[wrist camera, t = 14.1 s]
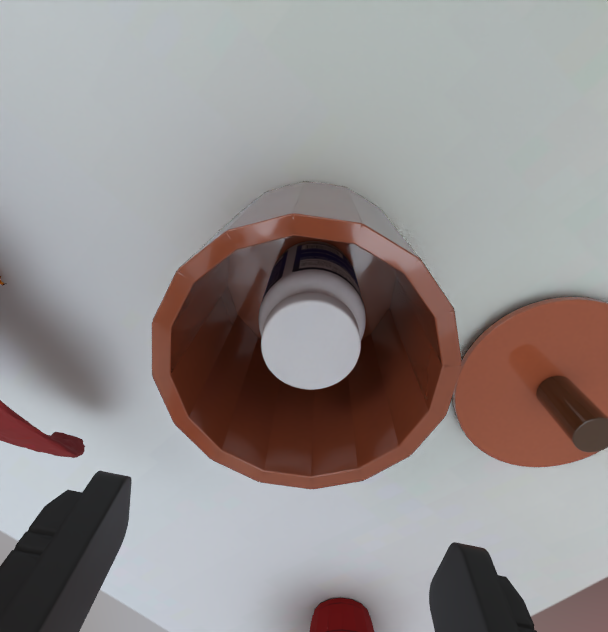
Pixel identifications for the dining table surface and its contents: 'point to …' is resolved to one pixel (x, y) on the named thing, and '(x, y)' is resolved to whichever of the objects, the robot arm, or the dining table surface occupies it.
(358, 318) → the pill bottle
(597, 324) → the lid
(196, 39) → the dining table surface
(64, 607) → the robot arm
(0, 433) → the decorative bird sculpture
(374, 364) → the pot
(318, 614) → the plastic cup
